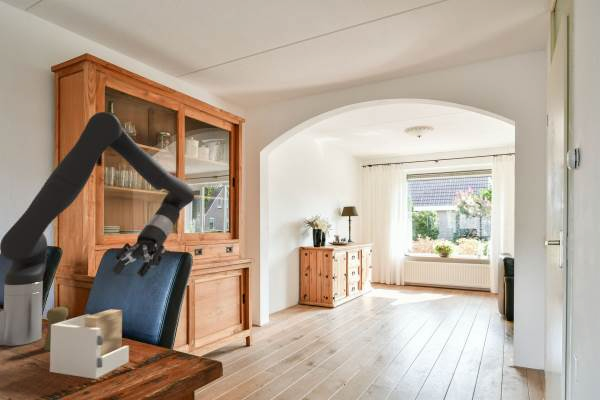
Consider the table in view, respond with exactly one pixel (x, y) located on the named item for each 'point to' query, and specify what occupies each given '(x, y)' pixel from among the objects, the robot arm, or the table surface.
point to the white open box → (82, 350)
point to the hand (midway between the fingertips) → (127, 274)
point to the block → (107, 329)
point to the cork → (54, 322)
